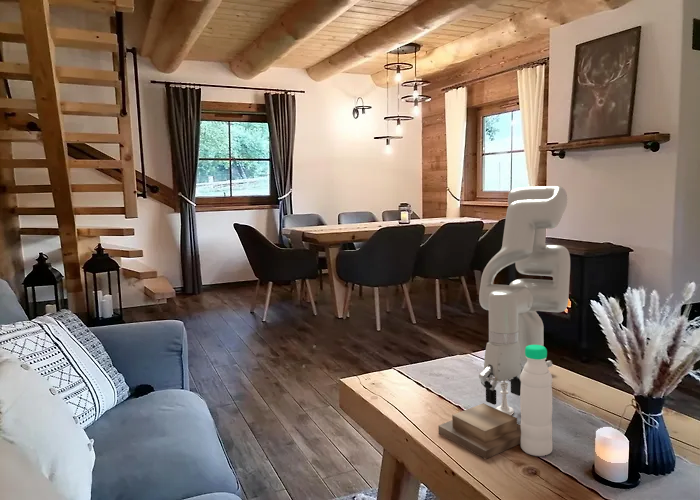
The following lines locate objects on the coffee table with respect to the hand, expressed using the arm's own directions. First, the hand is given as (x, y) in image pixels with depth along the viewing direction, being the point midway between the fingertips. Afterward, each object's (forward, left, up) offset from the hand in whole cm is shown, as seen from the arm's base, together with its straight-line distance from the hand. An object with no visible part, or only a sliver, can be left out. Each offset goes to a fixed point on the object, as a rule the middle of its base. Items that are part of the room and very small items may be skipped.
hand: (503, 398), depth 144 cm
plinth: (+13, +6, -4) cm, 15 cm away
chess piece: (-1, 0, -4) cm, 4 cm away
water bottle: (+9, +18, -4) cm, 20 cm away
